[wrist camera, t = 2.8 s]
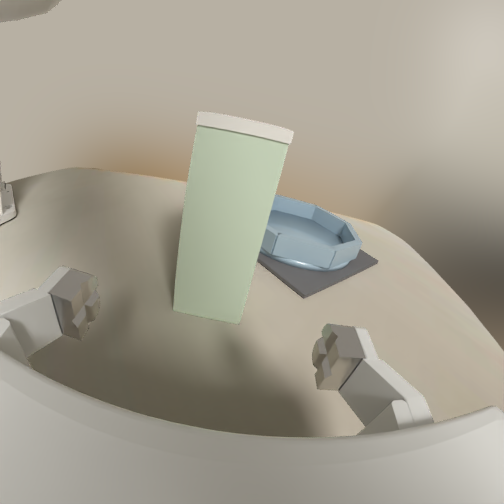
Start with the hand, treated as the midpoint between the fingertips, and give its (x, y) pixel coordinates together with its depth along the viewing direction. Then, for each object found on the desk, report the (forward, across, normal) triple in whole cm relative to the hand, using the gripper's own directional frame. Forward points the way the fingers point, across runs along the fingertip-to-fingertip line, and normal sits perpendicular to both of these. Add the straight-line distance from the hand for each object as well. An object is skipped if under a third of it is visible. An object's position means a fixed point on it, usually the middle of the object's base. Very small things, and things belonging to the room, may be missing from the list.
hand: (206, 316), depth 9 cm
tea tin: (+12, 0, +9) cm, 15 cm away
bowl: (+29, -9, +9) cm, 32 cm away
